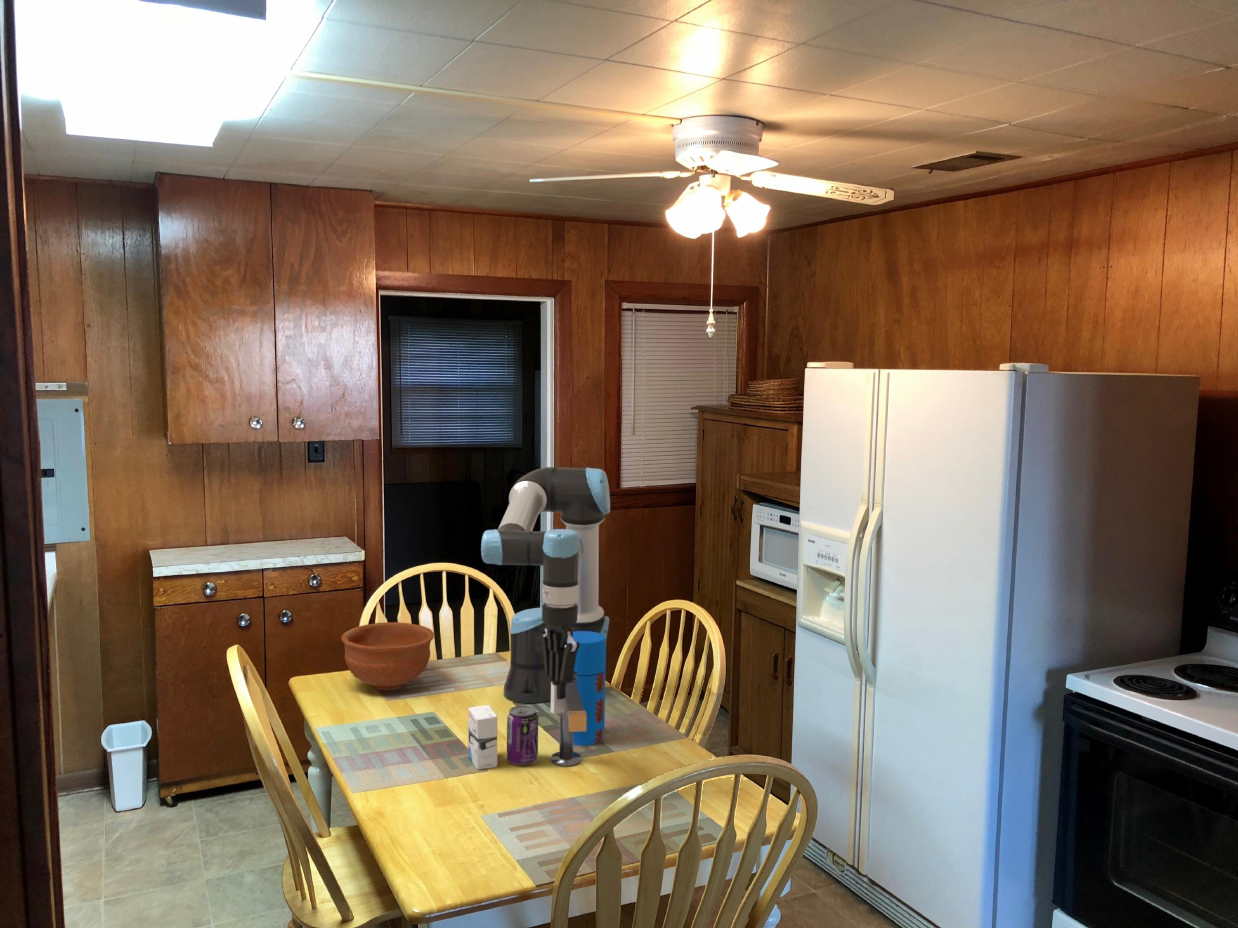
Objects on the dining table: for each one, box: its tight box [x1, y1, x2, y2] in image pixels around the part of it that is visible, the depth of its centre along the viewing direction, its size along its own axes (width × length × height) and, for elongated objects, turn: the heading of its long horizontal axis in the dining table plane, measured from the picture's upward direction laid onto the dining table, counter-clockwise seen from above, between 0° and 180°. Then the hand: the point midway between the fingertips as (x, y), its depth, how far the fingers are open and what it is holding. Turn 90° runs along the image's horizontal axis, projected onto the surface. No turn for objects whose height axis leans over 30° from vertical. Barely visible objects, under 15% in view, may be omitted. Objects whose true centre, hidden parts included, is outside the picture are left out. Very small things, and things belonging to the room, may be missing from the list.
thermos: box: [572, 631, 607, 747], centre depth 233 cm, size 11×11×25 cm
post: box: [550, 709, 582, 768], centre depth 219 cm, size 7×7×16 cm
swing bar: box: [565, 671, 587, 732], centre depth 207 cm, size 28×4×4 cm, turn 8°
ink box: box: [467, 704, 498, 770], centre depth 218 cm, size 8×5×12 cm, turn 23°
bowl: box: [341, 621, 435, 691], centre depth 267 cm, size 25×25×15 cm
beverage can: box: [506, 705, 539, 766], centre depth 219 cm, size 7×7×12 cm
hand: (557, 711), depth 205 cm, fingers closed
